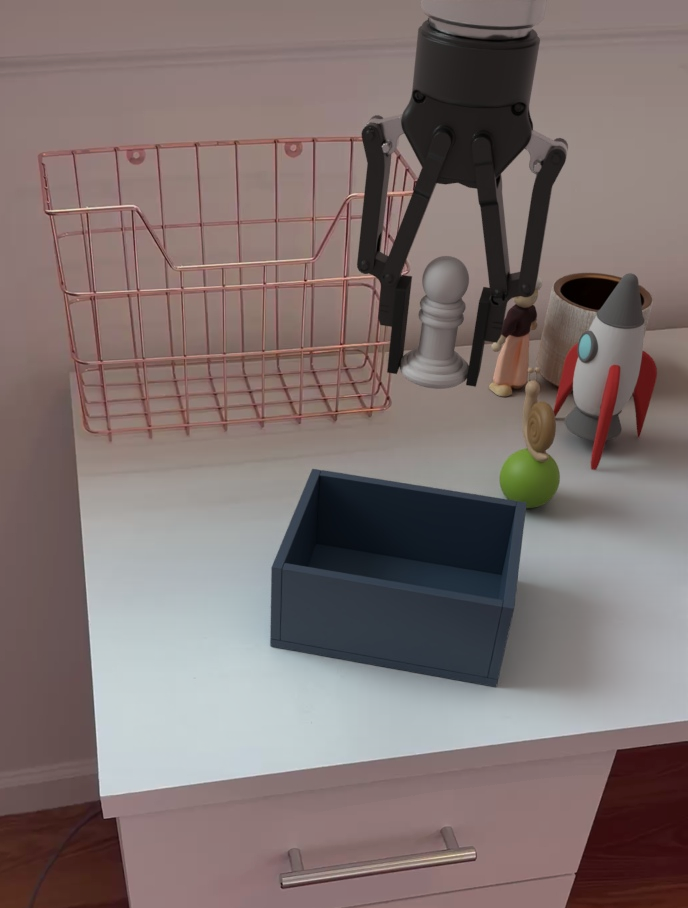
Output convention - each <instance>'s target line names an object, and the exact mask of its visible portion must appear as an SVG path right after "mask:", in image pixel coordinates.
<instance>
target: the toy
mask: <svg viewBox="0 0 688 908" xmlns="http://www.w3.org/2000/svg"><path fill="white" fill-rule="evenodd" d="M639 285H640V283H639V278H638V276H637V275H636V274H634V273H632V272H629V273H625V274H624V275H623V276H622V279H621V280H620V282H619V283H618V285H617V286H616V287H615V289H614V290H613V292H612V293H611V295H610V296H609V297H608V299H607V300H606V302H605V303H604V305H603V306H602V308H601V309H600V310H598V312H597V315H596V317H595V319H594V320H593V322H592V324H591V327H590V329H589V331H585V332H584V333H583V334H582V335H581V337H580V339H579V342H578V343H577V344H575V345H574V346H573V347H572V348H571V349H570V351H569V352H568V354H567V356H566V359H565V362H564V367H563V371H562V376H561V380H560V385H559V388H558V389H557V395H556V399H555V404H554V407H553V411H554V414H555V418H556V416H557V415H558V414H559V412H560V411H561V408H562V407H563V405H564V404H565V402H566V400H567V399H568V397H569V396H570V394H571V393H572V392H571V391H572V390H573V393H572V395H573V400H574V402H573V403H574V407H573V409H572V410H571V411H570V412H569V413H568V414H567V416H566V417H565V418H564V425H565V427H566V429H567V430H568V431H569V432H571V433H572V434H573V435H575V436H577V437H579V438H581V439H585V440H588V441H593V446H592V451H591V458H590V469H591V470H592V471H596V470H597V468H598V466H599V465H600V462H601V459H602V456H603V453H604V449H605V445H606V442H607V441H610V440H614V439H616V438H618V437H619V436H620V435H621V433H622V430H623V427H622V425H621V420H620V416H619V415H620V414H621V413H622V411H623V409H624V408H625V407H626V406H627V404H628V403H629V401H630V399H631V397H632V399H633V405H634V411H635V423H636V424H635V425H636V436H637V438H638V439H640V437H641V434H642V431H643V427H644V425H645V421H646V417H647V413H648V409H649V407H650V403H651V400H652V396H653V393H654V389H655V386H656V382H657V377H658V368H657V364H656V362H655V360H654V358H653V357H652V356H651V355H650V354H649V353H648V352H647V351H645V350H644V340H643V339H645V336H644V317H643V313H642V305H641V298H640V290H639Z"/></svg>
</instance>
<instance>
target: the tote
mask: <svg viewBox="0 0 688 908" xmlns="http://www.w3.org/2000/svg"><path fill="white" fill-rule="evenodd" d="M526 504H527V503H526V502H520V501H514V500H508V499H507V498H501V497H495V496H489V495H483V494H482V495H481V494H477V493H476V494H475V493H469V492H463V491H456V490H452V489H446V488H445V489H444V488H439V487H431V486H424V485H421V484H419V485H418V484H412V483H407V482H400V481H393V480H388V479H381V478H374V477H368V476H363V475H356V474H349V473H343V472H337V471H331V470H324V469H317V468H312V469H311V471H310V473H309V475H308V477H307V480H306V483H305V485H304V488H303V490H302V492H301V495H300V497H299V500H298V502H297V504H296V507H295V509H294V512H293V514H292V515H291V516H292V517H291V519H290V521H289V524H288V526H287V528H286V531H285V534H284V535H283V538H282V541H281V543H280V546H279V548H278V550H277V553H276V555H275V558H274V560H273V562H272V566H271V571H270V572H271V573H270V574H271V575H270V582H271V583H270V630H269V631H270V635H269V637H270V639H269V643H270V644H269V646H270V647H273V648H279V649H283V650H289V651H295V652H300V653H306V654H311V655H317V656H323V657H329V658H334V659H339V660H345V661H350V662H356V663H360V664H361V663H362V664H367V665H372V666H378V667H384V668H388V669H393V670H394V669H395V670H400V671H405V672H406V671H407V672H411V673H417V674H421V675H427V676H433V677H439V678H445V679H450V680H455V681H462V682H466V683H472V684H477V685H481V686H487V687H488V686H489V687H496V688H497V686H498V682H499V677H500V674H501V670H502V665H503V660H504V656H505V651H506V646H507V642H508V638H509V634H510V633H509V632H510V630H511V629H510V628H511V624H512V620H513V616H514V611H515V606H516V605H515V604H516V595H517V590H518V589H517V587H518V580H519V571H520V570H519V569H520V564H521V563H520V562H521V554H522V545H523V536H524V528H525V519H526V513H527V512H526V511H527V508H526Z"/></svg>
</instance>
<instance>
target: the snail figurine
mask: <svg viewBox="0 0 688 908" xmlns="http://www.w3.org/2000/svg"><path fill="white" fill-rule="evenodd" d="M540 371H541V368H540V367H536V366H535V368H534V367H528V378H527V383H526V384H525V387H524V388H525V389H524V391H525V398H524V402H523V408H522V434H523V438H524V441H525V446H526V448H522V449H519V450H516V451H515V452H513V453H511V454H510V455H509V456H508V457H507V458H506V459H505V461H504V462H503V464H502V466H501V469H500V471H499V486H500V489H501V492H502V494H503V495H504V497H505V499H508V500H514V501H520V502H526V503H527V504H526V509H533V508H539V507H542V506H543V505H545V504H546V503H548V502H549V501H550V500H551V499H552V498H553V497H554V496H555V494H556V493H557V491H558V489H559V486H560V483H561V474H560V473H561V472H560V468H559V466H558V464H557V462H556V460H555V459H554V457H553V456H551V454H549V453H548V452H547V450H549V449H550V448H551V447H552V445H553V443H554V440H555V436H556V432H557V429H556V428H557V422H556V421H557V420H556V417H555V414H554V408H553V407H552V405H551V404H549V403H548V402H546V401H543V400H541V401H538V399H539V397H538V396H539V394H540V391H541V385H540V383H539V382H538V381H537V377H538V374H540ZM534 372H535V373H536V374H535V378H534V380H533V379H532V380H530V378H531V374H533V373H534Z"/></svg>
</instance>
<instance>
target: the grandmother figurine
mask: <svg viewBox="0 0 688 908" xmlns="http://www.w3.org/2000/svg"><path fill="white" fill-rule="evenodd" d="M542 287H543V280H542V278H541V276H538V278H537V283H536V287H535V291H534V294H533V295H532V296H530V297H522V296H518V297H514V298H512V299H513V302H514V305H512V306H511V307H510V308H509V309H508V310H507V313H506V314H505V318H504V324H503V329H502V333H501V337H500V338H499V340H498V342H497V343H495V342H492V344H491V350H492V352H495V353H498V352H499V354H498V356H497V360H496V365H495V369H494V371H493V372H494V373H493V378H492V380H493V382H491V383H490V384H489V385H488V389H489V390H490V391H491V392H493V393H494V394H495V395H497V396H499V397H509V396H511V395H513V389H515V390H517V389H518V390H519V389H522V388H523V387H524V386H525V385H526V384H527V383H528V379H529V373H528V368H529V364H530V332H531V331H535V330H537V328H538V319H537V317H538V312H537V308H536V306H535V303H536V302H537V300H538V297H539V290H541V288H542Z"/></svg>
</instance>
